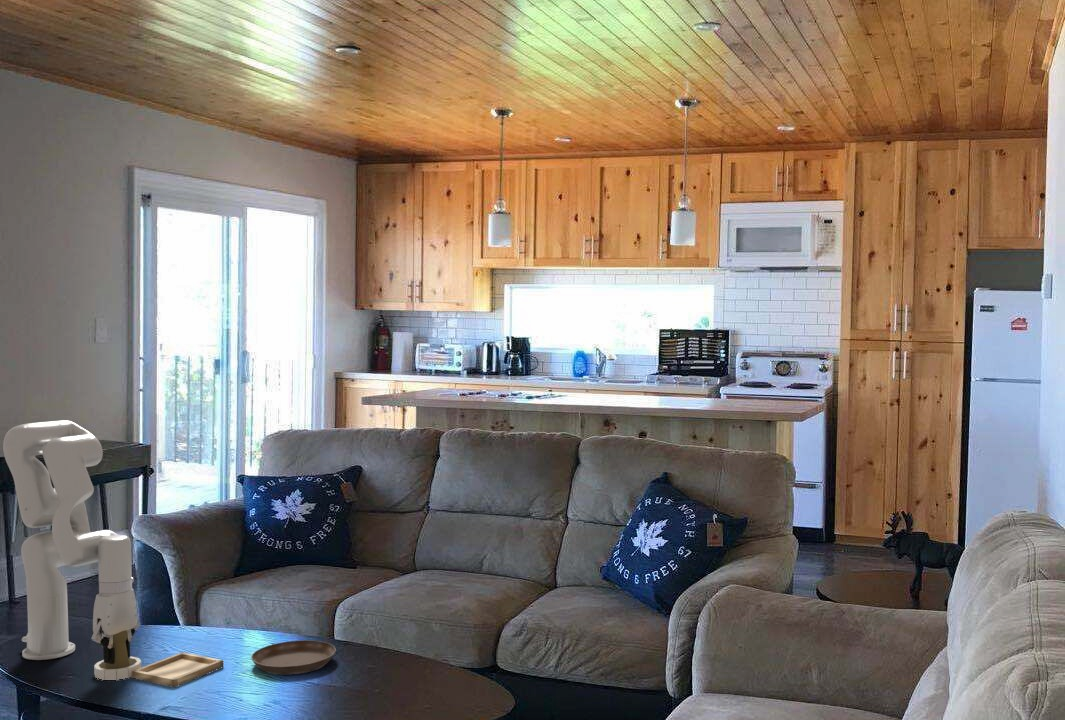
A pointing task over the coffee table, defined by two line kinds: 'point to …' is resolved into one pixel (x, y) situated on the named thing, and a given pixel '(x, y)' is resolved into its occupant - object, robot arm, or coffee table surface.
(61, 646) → the robot arm
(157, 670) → the tray
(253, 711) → the coffee table surface
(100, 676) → the holder ring
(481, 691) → the coffee table surface
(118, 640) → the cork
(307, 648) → the plant saucer
